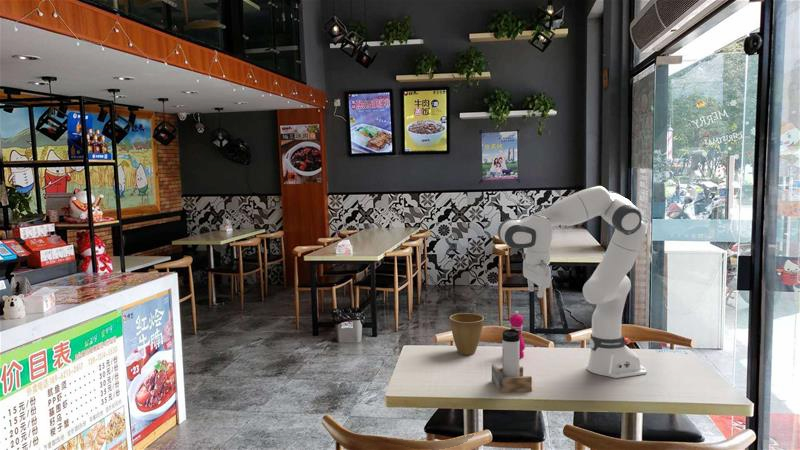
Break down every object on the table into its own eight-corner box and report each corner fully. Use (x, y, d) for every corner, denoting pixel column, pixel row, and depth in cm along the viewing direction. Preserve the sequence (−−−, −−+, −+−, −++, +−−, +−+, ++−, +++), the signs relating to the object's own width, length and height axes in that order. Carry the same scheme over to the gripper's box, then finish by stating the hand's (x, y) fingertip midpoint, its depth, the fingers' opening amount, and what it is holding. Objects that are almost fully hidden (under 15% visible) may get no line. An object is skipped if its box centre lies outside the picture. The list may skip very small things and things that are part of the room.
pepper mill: (525, 359, 257) (525, 313, 254) (507, 358, 258) (507, 312, 256) (524, 353, 264) (525, 309, 261) (508, 353, 265) (508, 308, 263)
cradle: (521, 379, 234) (522, 362, 233) (531, 391, 222) (531, 373, 221) (491, 381, 232) (491, 364, 232) (499, 392, 220) (499, 375, 220)
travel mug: (521, 380, 229) (521, 329, 226) (517, 386, 223) (517, 334, 221) (505, 378, 231) (505, 327, 229) (500, 384, 225) (500, 332, 223)
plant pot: (447, 357, 261) (447, 321, 259) (452, 346, 276) (452, 312, 274) (482, 359, 258) (482, 322, 256) (485, 348, 272) (485, 313, 271)
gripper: (556, 263, 216) (553, 301, 217) (536, 253, 236) (534, 287, 237) (540, 263, 215) (537, 301, 217) (521, 253, 235) (518, 287, 237)
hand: (535, 294), depth 227 cm, fingers open, 8 cm apart
